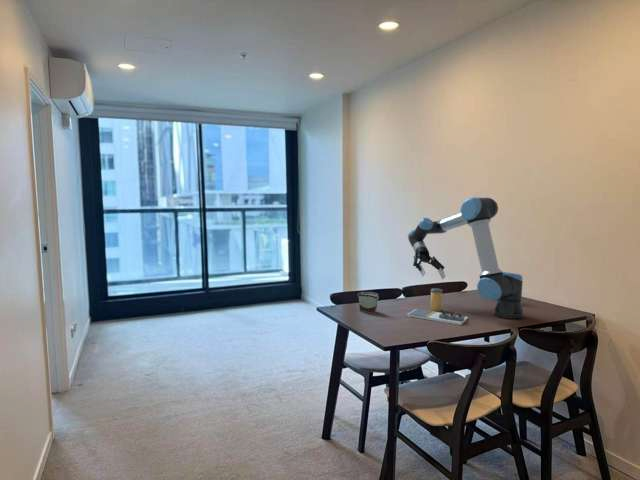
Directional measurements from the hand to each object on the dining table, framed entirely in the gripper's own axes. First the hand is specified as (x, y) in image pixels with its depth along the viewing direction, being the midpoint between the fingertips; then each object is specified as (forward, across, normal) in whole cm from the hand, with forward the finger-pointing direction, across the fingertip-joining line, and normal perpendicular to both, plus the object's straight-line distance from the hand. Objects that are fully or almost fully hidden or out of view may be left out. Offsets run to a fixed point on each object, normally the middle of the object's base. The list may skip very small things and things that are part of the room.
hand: (433, 276), depth 248 cm
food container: (+11, +34, -23) cm, 42 cm away
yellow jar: (+14, -2, -12) cm, 19 cm away
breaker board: (+26, +6, -5) cm, 28 cm away
